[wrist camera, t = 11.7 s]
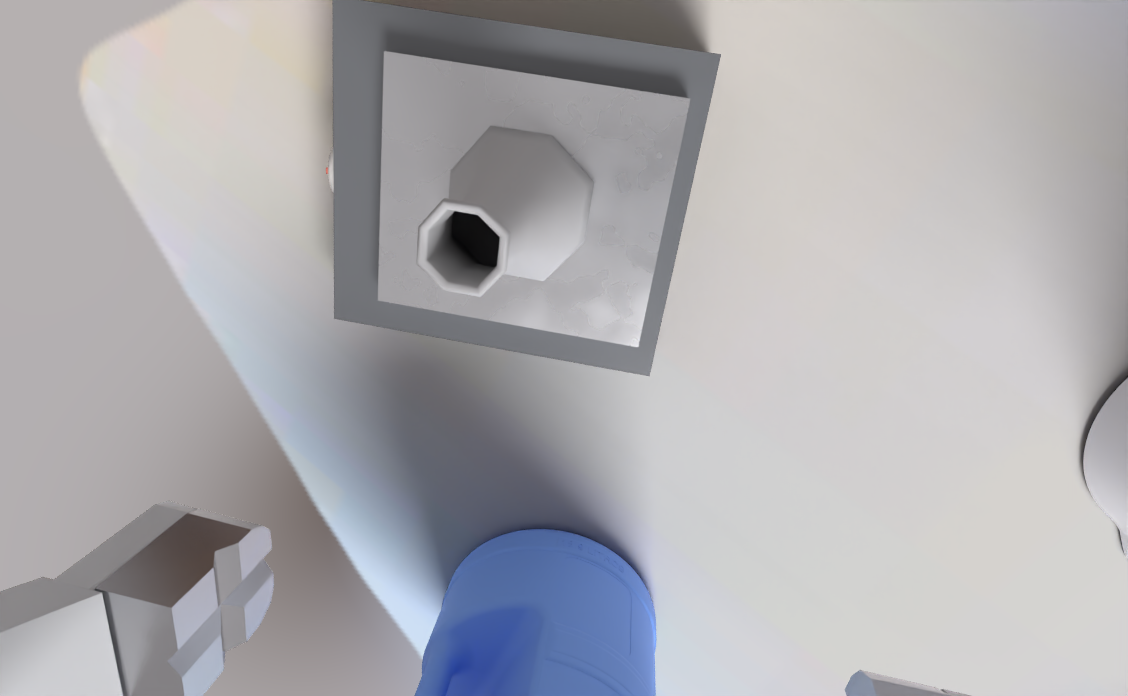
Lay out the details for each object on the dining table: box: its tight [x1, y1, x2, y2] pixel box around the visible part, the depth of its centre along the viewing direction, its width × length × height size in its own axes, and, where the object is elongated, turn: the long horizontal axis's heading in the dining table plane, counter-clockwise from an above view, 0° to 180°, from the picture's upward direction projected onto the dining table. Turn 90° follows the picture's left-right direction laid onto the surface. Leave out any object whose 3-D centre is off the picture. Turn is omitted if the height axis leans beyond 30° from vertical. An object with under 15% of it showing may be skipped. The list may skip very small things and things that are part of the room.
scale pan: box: [378, 51, 690, 347], centre depth 29 cm, size 14×12×1 cm
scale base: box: [326, 0, 721, 376], centre depth 32 cm, size 19×16×4 cm
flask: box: [416, 126, 594, 297], centre depth 24 cm, size 7×7×10 cm
